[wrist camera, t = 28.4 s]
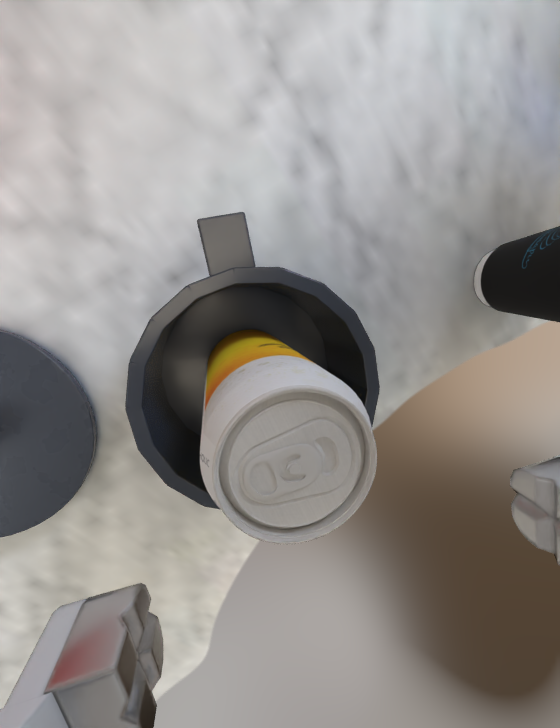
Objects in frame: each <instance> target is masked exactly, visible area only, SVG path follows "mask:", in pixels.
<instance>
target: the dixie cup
mask: <svg viewBox="0 0 560 728" xmlns="http://www.w3.org/2000/svg"><path fill="white" fill-rule="evenodd" d="M474 287H475V292H476V294H477V296H478V298H479V299H480V300H481V301H482V302H483V303H484V304H485V305H487V306H490V307H492V308H494V309H496V310H498V311H502V312H507V313H513V314H518V315H523V316H529V317H534V318H540V319H545V320H550V321H556V322H560V226H559V227H556V228H553V229H550V230H546V231H543V232H540V233H537V234H534V235H531V236H527V237H524V238H521V239H518V240H515V241H511V242H508V243H505V244H503V245H501V246H499V247H498V248H496V249H495V250H492V251H491V252H489V253H488V254H486V255H485V256H484V257H483V258H482V260H481V261H480V263H479V264H478V266H477V269H476V271H475V276H474Z"/></svg>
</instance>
